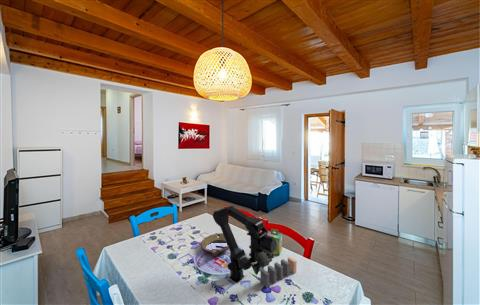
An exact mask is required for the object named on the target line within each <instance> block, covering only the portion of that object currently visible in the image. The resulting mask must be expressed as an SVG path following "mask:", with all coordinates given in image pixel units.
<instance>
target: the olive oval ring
mask: <svg viewBox="0 0 480 305" xmlns="http://www.w3.org/2000/svg"><path fill="white" fill-rule="evenodd" d="M211 243H227V242H226V240H225V237H224V235H223V232H220V233H217V232H216V233H215V234H213V233H212V234H210V235H208V236H206V237H204V238H203V239H202V240H201V243H200V247H201V249H202V251H204V252H206V253H209V254H212V256H214V257H217V256H218V255H219V254H221V253H224V252H226V251H228V250H229V247H228V246H227V247H225V248H222V249H219V250H217V249H218V248H217V249H212V250H209V249H206V246H207V245H209V244H211Z"/></svg>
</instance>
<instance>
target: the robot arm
mask: <svg viewBox="0 0 480 305" xmlns="http://www.w3.org/2000/svg"><path fill="white" fill-rule="evenodd" d="M230 217H231V218H232V219H233V220H236V221H237V222H239V223H241V224H242V225H243V226H245V229H246V230H247V231H248V232H247V233H246V235H247V236H250V244H249V245H248V248H249V250H250V252H249V254H248V256H250V257H249V258H247V254H246V253H245V250H244V249H241V248H239V245H238V243H237V240H236V239H235V236H234V234H233V230H232V229H231V226H230V223H229V221H230V220H229V219H230ZM212 218H213V220H214V222H215V223H216V225H218V226H219V227H220V229H221V233H223V235H224V237H225V240H226V242H227V245H228V246H227V247H229V249H228V250H229V253H230V254H229V259H230V260H229V261H230V262H229V263H228V264H227V265H226V266H227V269H228V271H229V272H230V275H229V276H228V279H229V280H231V281H233V282H235V283H237V284H238V283H239V282H240V281H242V279H244V278H245V275H244V271H246V270H247V271H248V269H251V267H252V270H253V273H254V274H255V275H256V276H257V275H258V274H259V271H260V270H261V269H260V268H262V269H264V268H265V267H268V266H270V263H271V262H272V261H273V259H274V254H273V252H274V251H275V249H276V247H277V242H276V240H274V237H272V236H268V233H269V232H268V230H267V228H266V226H265V225H264V223H263V220H261V218H258V217H254V216H253V217H252V216H250V215H247V214H246V213H244V212H243V211H241V210H239V209H237V208H236V207H235V206H234V205H229V206H225V208H219V209H217V210H214V211H213V213H212Z"/></svg>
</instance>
